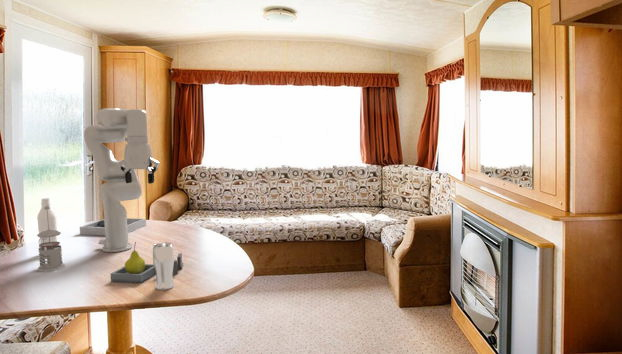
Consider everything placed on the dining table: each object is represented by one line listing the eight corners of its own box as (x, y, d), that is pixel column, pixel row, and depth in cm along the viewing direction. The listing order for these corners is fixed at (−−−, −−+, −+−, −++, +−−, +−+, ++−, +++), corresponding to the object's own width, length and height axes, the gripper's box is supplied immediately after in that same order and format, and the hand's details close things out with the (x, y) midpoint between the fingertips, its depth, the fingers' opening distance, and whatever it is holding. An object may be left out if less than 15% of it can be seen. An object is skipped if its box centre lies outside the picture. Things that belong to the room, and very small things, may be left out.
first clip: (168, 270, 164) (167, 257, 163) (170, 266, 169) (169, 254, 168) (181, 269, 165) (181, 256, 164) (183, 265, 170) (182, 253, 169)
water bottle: (62, 253, 188) (58, 198, 186) (46, 257, 182) (42, 200, 179) (52, 251, 191) (48, 197, 189) (36, 255, 185) (31, 199, 182)
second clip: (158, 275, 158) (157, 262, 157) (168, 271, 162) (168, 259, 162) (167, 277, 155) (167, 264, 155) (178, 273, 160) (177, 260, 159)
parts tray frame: (80, 234, 223) (79, 226, 223) (108, 224, 247) (108, 217, 246) (121, 235, 219) (121, 228, 219) (146, 225, 243) (145, 218, 242)
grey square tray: (111, 281, 152) (110, 273, 151) (130, 270, 163) (129, 263, 163) (141, 283, 150) (141, 275, 149) (158, 272, 162) (158, 264, 161)
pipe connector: (119, 217, 240) (121, 222, 227) (120, 226, 241) (122, 232, 228) (96, 220, 235) (98, 225, 222) (97, 229, 235) (99, 235, 222)
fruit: (139, 278, 153) (137, 246, 152) (121, 277, 154) (119, 245, 152) (148, 271, 160) (147, 241, 158) (131, 271, 160) (130, 240, 159)
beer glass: (167, 281, 151) (165, 241, 149) (179, 285, 147) (177, 244, 146) (150, 287, 145) (147, 245, 144) (162, 292, 141) (160, 248, 140)
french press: (44, 273, 162) (39, 209, 159) (29, 268, 168) (24, 206, 165) (70, 266, 170) (66, 205, 167) (55, 261, 176) (51, 202, 173)
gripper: (112, 141, 165) (114, 184, 167) (152, 140, 163) (154, 184, 165) (123, 140, 173) (125, 181, 175) (162, 140, 170) (164, 182, 172)
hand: (139, 183), depth 170 cm, fingers open, 9 cm apart
